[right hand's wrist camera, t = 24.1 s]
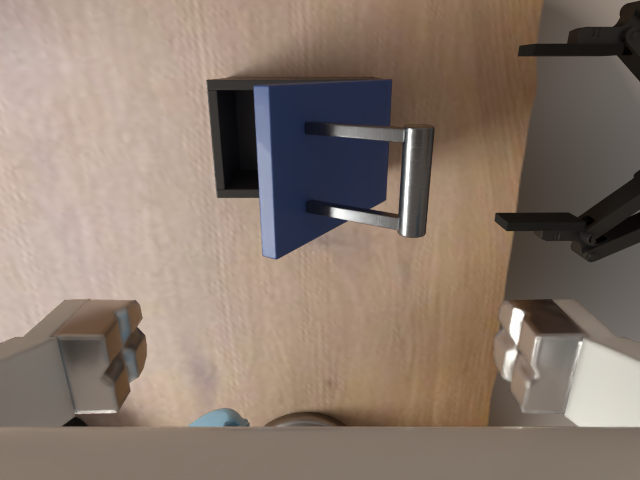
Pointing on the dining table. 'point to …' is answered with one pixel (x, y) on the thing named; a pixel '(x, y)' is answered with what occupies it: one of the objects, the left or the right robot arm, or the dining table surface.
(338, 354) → the dining table surface
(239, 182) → the chest
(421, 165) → the lid
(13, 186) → the dining table surface
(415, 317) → the dining table surface
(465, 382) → the dining table surface
